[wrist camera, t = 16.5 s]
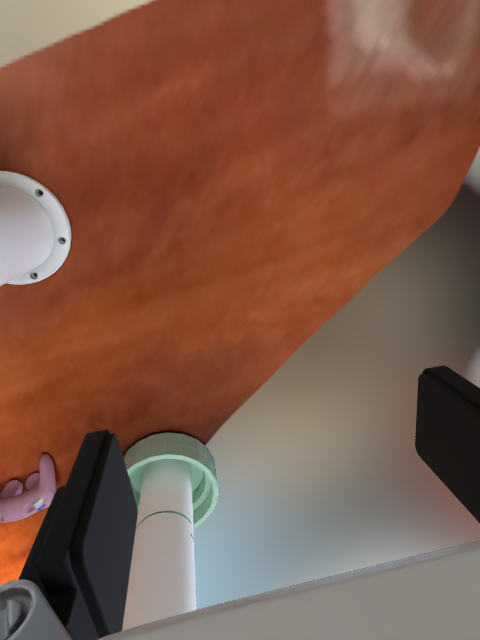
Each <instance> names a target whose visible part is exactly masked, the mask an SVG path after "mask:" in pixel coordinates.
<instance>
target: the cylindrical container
mask: <svg viewBox="0 0 480 640" xmlns="http://www.w3.org/2000/svg"><path fill="white" fill-rule="evenodd" d="M194 610H196V592H195V564H194V535H193V505H192V476H191V466H190V464H189V462H187V461H184V460H179V459H167V458H166V459H160V460H155V461H151V462H148V463H147V464H146V466H145V468H144V473H143V480H142V487H141V495H140V502H139V509H138V517H137V524H136V532H135V539H134V546H133V554H132V561H131V568H130V576H129V583H128V591H127V598H126V605H125V613H124V620H123V627H122V631H124V630H127V629H130V628H133V627H136V626H139V625H142V624H146V623H150V622H153V621H157V620H161V619H165V618H168V617H172V616H176V615H179V614H183V613H187V612H191V611H194Z"/></svg>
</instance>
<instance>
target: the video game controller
mask: <svg viewBox="0 0 480 640" xmlns="http://www.w3.org/2000/svg"><path fill="white" fill-rule="evenodd" d="M39 473H40V474H39ZM39 473H34V474H32V475H31V476H29V477H28V479H27V480H26V484H25V486H26V489H27V490H29V491H27V492H24V493H21V492H22V490H23V484H22V483H21V482H19V481H17V480H12V481H10V482H9V483H8V484H7V485H6V486H5V488H4V489H3V491H2V493H0V522H1V523H7V522H13V521H17V520H21V519H23V518H26V517H28V516H30V515H32V514H34V513H36V512H37V511H39V510H41V509H44V508H47V507H48V506H50V504H51V501H52V499H53V497H54V494H55V493H56V491H57V488H56V486H55V485H56V483H55V471H54V465H53V462H52V460H51V458H50V456H49V455H48V454H44V455H42V457H41V459H40V463H39Z"/></svg>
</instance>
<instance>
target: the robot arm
mask: <svg viewBox="0 0 480 640" xmlns="http://www.w3.org/2000/svg"><path fill="white" fill-rule="evenodd" d="M40 191H43V195H40ZM62 238H65V240H66V241H65V242H63V241H62ZM70 245H71V227H70V223H69V220H68V217H67V214H66V212H65V210H64V208H63V206H62V205H61V203H60V202H59V201H58V199H57V198H56V197H55V196H54V195H53V194H52V193H51V192H50V191H49V189H47V188H46V187H45V186H43V185H42V184H41V183H39V182H38V181H36V180H34V179H32V178H30V177H28V176H25V175H22V174H19V173H15V172H9V171H0V286H1V285H3V284H5V283H7V284H17V285H22V284H31V283H34V282H38V281H41V280H43V279H45V278H47V277H49V276H50V275H52V274H53V273H54V272H56V271H57V270H58V269H59V268H60V267H61V266H62V264H63V262H64V261H65V259H66V258H67V255H68V252H69V250H70ZM34 273H36V274H37V275H38V276H35V274H34ZM415 440H416V441H415V447H416V450H417V453H418V455H419V456H420V457H421V459H422V460H423V461H424V462H425V463H426V464H427V465H428V466H429V467H430V469H431V470H432V471H433V472H434V473H435V474H436V475H437V476H438V477H439V479H440V480H441V481H442V482H443V483H444V484H445V485H446V486H447V487H448V488H449V489H450V491H451V492H452V493H453V494H454V495H455V496H456V497H457V498H458V500H459V501H460V502H461V503H462V504H463V505H464V506H465V507H466V508H467V509H468V511H469V512H470V513H471V514H472V515H473V516H474V517H475V518H476V520H477V521H478V522H479V523H480V388H479V387H477V386H475V385H474V384H472V383H471V382H469V381H468V380H466V379H465V378H463V377H462V376H460V375H459V374H457V373H456V372H454V371H453V370H451V369H450V368H448V367H446V366H438V367H433V368H427V369H425V370H424V371H423V374H421V375H420V376H419V379H418V400H417V419H416V439H415ZM137 516H138V512H137V504H136V500H135V497H134V493H133V490H132V486H131V483H130V479H129V476H128V472H127V469H126V465H125V462H124V458H123V455H122V451H121V447H120V444H119V440H118V437H117V435H116V433H113V434H110V432H109V430H102V431H96V432H91V433H87V434H86V436H85V438H84V441H83V443H82V446H81V448H80V451H79V453H78V456H77V458H76V461H75V463H74V466H73V468H72V471H71V473H70V476H69V479H68V481H67V484H66V486H63V487H60V488H58V489H57V491H56V493H55V494H54V497H53V499H52V501H51V504H50V506H49V509H48V511H47V513H46V516H45V518H44V520H43V523H42V525H41V528H40V530H39V532H38V535H37V537H36V539H35V542H34V544H33V547H32V549H31V551H30V554H29V556H28V558H27V561H26V563H25V566H24V568H23V570H22V573H21V575H20V577H19V580H15V581H11V582H8V583H6V584H3V585H1V586H0V640H480V540H479V541H475V542H471V543H467V544H463V545H458V546H454V547H450V548H445V549H442V550H437V551H433V552H428V553H424V554H420V555H416V556H412V557H408V558H404V559H400V560H396V561H392V562H387V563H383V564H379V565H375V566H371V567H366V568H363V569H359V570H354V571H350V572H346V573H342V574H338V575H334V576H330V577H326V578H322V579H317V580H313V581H309V582H306V583H301V584H297V585H293V586H289V587H285V588H281V589H277V590H273V591H270V592H265V593H261V594H257V595H253V596H249V597H245V598H241V599H237V600H233V601H229V602H225V603H221V604H217V605H214V606H209V607H205V608H202V609H198V610H194V611H191V612H187V613H183V614H179V615H176V616H172V617H168V618H165V619H161V620H157V621H153V622H150V623H146V624H142V625H139V626H136V627H133V628H130V629H127V630H124V631H122V627H123V620H124V613H125V605H126V598H127V591H128V583H129V576H130V568H131V561H132V554H133V546H134V539H135V532H136V524H137Z"/></svg>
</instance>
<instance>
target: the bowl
mask: <svg viewBox="0 0 480 640" xmlns="http://www.w3.org/2000/svg"><path fill="white" fill-rule="evenodd" d="M123 458H124V462H125V465H126V469H127V472H128V476H129V479H130V483H131V486H132V490H133V493H134V497H135V500H136V504H137V512H138V509H139V502H140V495H141V487H142V480H143V473H144V468H145V466H146V464H147V463H148V462H151V461H155V460H160V459H166V458H167V459H179V460H184V461H187V462H189V464H190V466H191V476H192V505H193V529H194V528H196V527H197V526H198V525H200V524H201V523H202V522H203V521H205V520H206V519H207V518H208V517H209V515H210V514H211V512H212V511H213V509H214V508H215V505H216V501H217V498H218V487H217V478H216V470H215V464H214V458H213V457H212V455H211V453H210V451H209V450H208V448H207V447H206V446H205V445H203V444H202V443H201V442H200V441H199V440H197V439H195V438H193V437H190V436H188V435H185V434H179V433H169V432H167V433H161V434H155V435H151V436H149V437H147V438H145V439H142V440H140V441H138V442H137V443H136V444H135V445H133V446H132V447H131V448H130V449H129V450H128V451H127V452H126V454H125V455H124V457H123ZM137 517H138V516H137Z"/></svg>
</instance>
